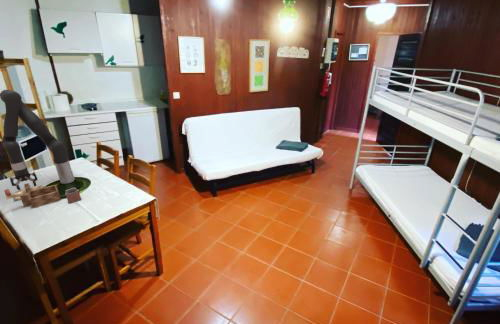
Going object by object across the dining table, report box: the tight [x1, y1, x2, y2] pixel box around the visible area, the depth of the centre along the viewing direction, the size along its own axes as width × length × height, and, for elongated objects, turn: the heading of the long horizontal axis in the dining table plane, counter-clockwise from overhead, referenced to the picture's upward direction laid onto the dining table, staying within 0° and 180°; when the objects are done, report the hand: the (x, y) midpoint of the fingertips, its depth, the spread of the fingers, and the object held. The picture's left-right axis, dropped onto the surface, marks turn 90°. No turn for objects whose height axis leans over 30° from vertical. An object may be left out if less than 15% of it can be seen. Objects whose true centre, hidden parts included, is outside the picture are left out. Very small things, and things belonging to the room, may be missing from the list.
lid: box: [14, 182, 44, 201], centre depth 186 cm, size 16×12×6 cm
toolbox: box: [20, 184, 62, 209], centre depth 177 cm, size 20×12×8 cm, turn 131°
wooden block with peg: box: [3, 188, 23, 200], centre depth 167 cm, size 8×2×6 cm, turn 131°
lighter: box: [64, 187, 82, 204], centre depth 178 cm, size 8×3×10 cm, turn 135°
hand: (27, 187), depth 185 cm, fingers open, 8 cm apart
